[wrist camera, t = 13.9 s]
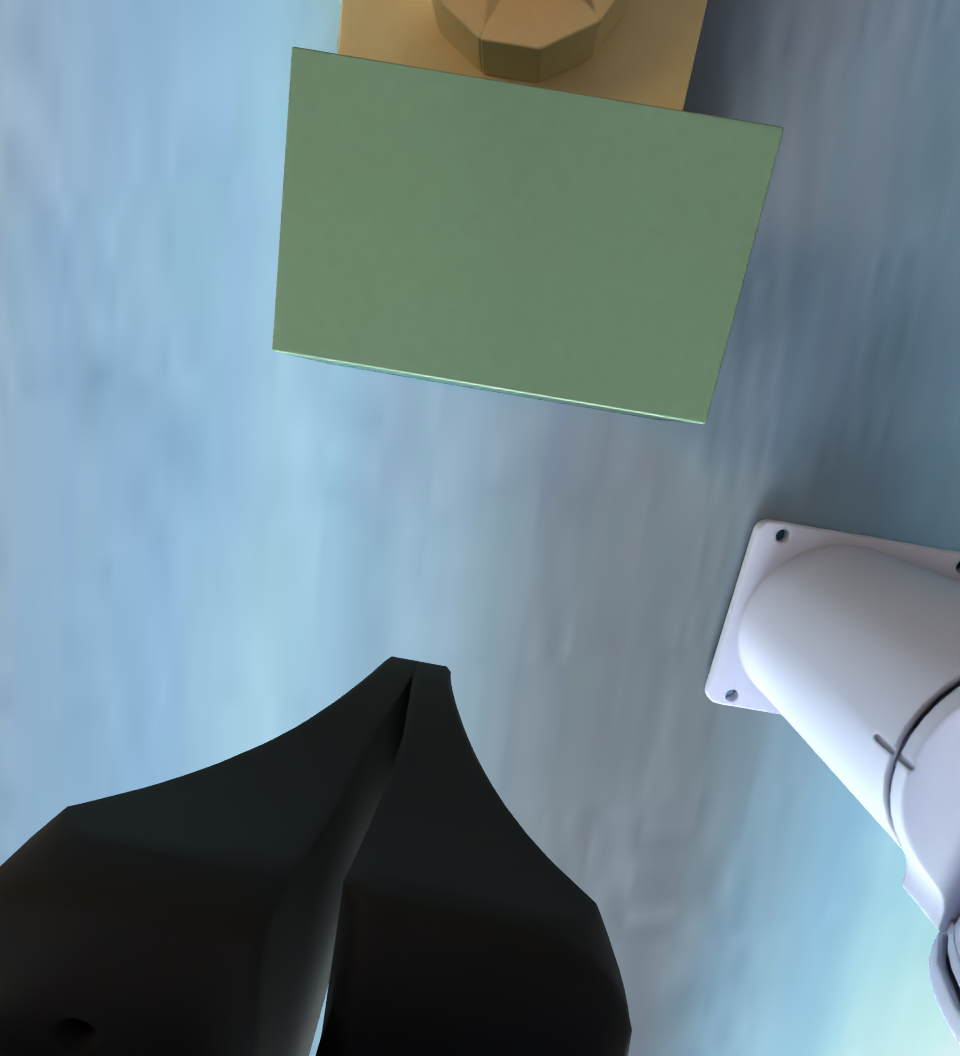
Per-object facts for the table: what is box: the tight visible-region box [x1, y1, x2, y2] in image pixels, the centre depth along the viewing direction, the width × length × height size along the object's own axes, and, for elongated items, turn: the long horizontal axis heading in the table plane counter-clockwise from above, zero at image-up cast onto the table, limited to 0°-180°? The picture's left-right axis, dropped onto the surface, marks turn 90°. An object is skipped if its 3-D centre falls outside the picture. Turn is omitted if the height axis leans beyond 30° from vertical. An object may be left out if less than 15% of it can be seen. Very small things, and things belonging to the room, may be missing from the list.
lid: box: [272, 47, 783, 424], centre depth 14 cm, size 8×13×1 cm, turn 81°
